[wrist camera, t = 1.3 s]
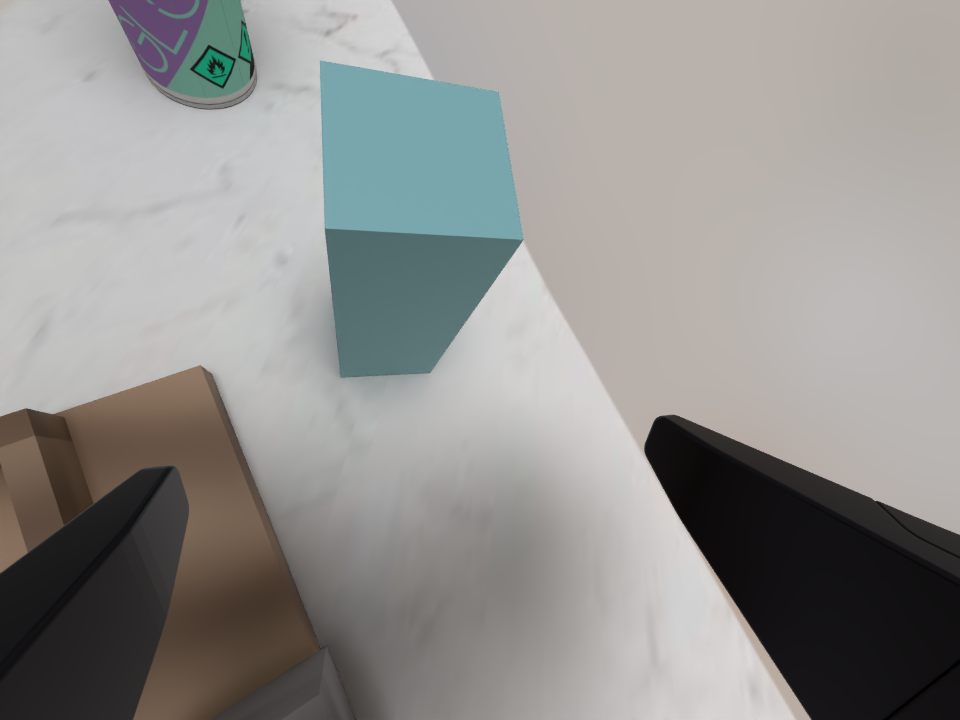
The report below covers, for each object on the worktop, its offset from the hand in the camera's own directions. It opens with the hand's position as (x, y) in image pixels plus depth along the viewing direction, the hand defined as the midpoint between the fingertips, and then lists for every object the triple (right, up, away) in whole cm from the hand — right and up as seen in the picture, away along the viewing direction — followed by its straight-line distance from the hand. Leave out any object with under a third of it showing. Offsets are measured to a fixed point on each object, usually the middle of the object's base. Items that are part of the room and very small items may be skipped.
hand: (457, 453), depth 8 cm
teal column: (-5, +3, +14) cm, 15 cm away
